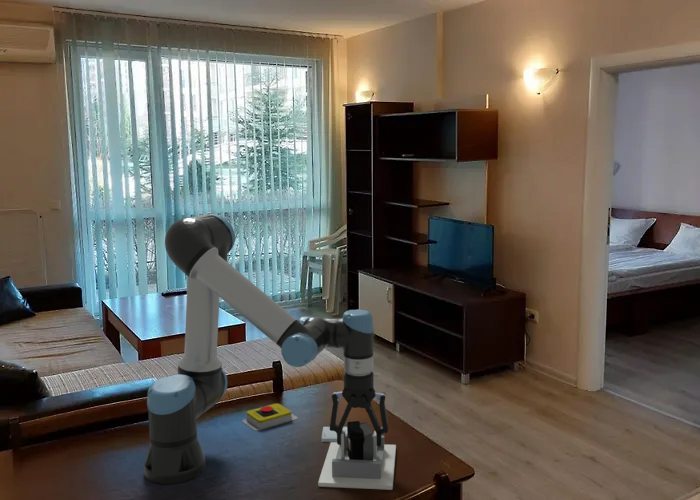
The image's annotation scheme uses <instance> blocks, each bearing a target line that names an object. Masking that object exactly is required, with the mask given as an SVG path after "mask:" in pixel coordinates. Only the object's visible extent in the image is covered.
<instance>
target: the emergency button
mask: <svg viewBox="0 0 700 500" xmlns="http://www.w3.org/2000/svg"><path fill="white" fill-rule="evenodd" d="M297 419H298V416H296V415H295V414H293V413H292V410H290V409H288V408H287V407H285V406H283V405H282V404H280V403H272V404H269V405H265V406H261V407H258V408H254V409H251V410H247V411H246V418H245V419H242V424H243V423H244V424H245V425H246V426H247V427H249V428H251V430H253V431H257V432H258V431H261V430H265V429H268V428H271V427H274V426H279V425H282V424H285V423H288V422H291V421H296V420H297Z"/></svg>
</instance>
